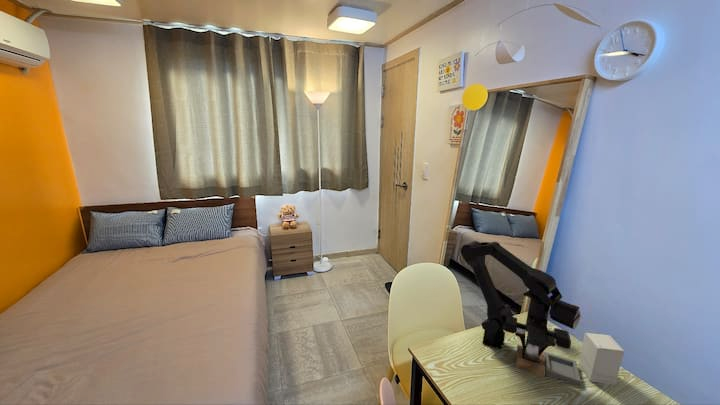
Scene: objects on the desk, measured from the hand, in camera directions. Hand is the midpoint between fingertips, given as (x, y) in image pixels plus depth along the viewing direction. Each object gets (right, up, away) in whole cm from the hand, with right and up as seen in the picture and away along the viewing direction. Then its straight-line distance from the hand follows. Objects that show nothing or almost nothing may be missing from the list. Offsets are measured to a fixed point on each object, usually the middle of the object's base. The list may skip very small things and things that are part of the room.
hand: (531, 352), depth 97 cm
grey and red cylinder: (0, -3, +1) cm, 4 cm away
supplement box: (+19, -6, -3) cm, 20 cm away
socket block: (0, -4, +1) cm, 5 cm away
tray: (+9, -5, -2) cm, 10 cm away
